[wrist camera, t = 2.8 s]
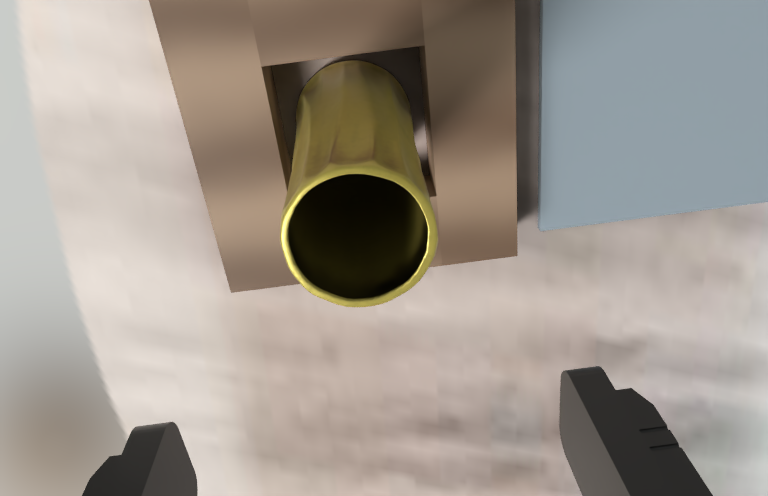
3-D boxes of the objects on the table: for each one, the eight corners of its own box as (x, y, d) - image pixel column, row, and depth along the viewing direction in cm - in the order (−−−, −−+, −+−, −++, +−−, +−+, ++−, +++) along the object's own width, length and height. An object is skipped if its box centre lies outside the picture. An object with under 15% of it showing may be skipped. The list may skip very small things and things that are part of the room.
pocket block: (161, -26, 28) (143, -21, 26) (498, -70, 28) (514, -70, 25) (239, 265, 36) (231, 292, 33) (504, 231, 36) (517, 255, 33)
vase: (336, 191, 34) (331, 345, 21) (273, 98, 31) (224, 213, 19) (430, 136, 33) (483, 266, 20) (373, 36, 30) (393, 113, 17)
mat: (540, -75, 28) (543, -75, 28) (836, -114, 28) (844, -114, 28) (537, 227, 36) (540, 231, 35) (770, 197, 36) (775, 200, 35)
